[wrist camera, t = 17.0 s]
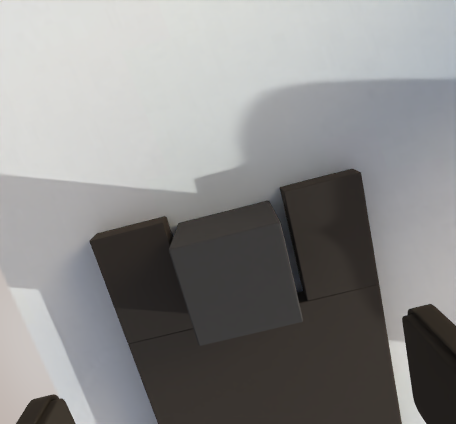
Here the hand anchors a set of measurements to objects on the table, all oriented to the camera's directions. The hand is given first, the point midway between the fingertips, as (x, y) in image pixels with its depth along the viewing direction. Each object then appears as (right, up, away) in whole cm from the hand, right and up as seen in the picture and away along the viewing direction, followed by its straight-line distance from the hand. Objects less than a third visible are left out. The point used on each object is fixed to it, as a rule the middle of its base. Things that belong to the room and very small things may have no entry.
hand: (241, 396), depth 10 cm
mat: (+3, -9, +14) cm, 16 cm away
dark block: (0, +3, +11) cm, 11 cm away
